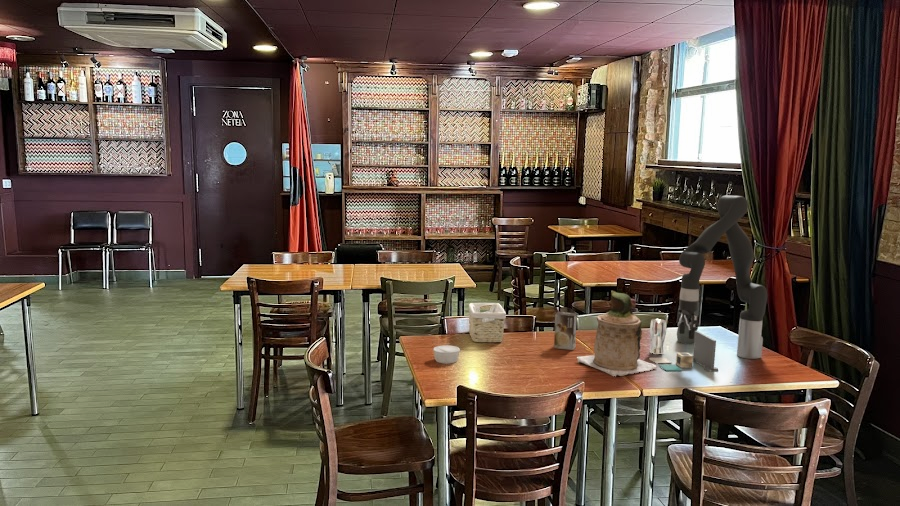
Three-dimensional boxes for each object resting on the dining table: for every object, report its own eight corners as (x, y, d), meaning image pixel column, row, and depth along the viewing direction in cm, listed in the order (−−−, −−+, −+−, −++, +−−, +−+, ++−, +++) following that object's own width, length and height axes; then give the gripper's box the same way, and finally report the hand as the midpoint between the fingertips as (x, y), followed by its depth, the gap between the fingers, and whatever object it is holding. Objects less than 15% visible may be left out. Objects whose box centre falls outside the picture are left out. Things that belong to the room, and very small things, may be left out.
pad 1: (664, 359, 296) (664, 357, 296) (671, 363, 289) (671, 362, 289) (649, 359, 295) (649, 357, 295) (655, 364, 288) (656, 362, 288)
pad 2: (674, 365, 286) (674, 364, 286) (682, 371, 279) (682, 369, 279) (658, 366, 285) (658, 364, 285) (665, 371, 278) (666, 369, 278)
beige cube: (686, 363, 290) (687, 352, 289) (692, 367, 285) (693, 355, 284) (675, 364, 289) (676, 352, 288) (680, 367, 284) (681, 355, 284)
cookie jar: (616, 378, 268) (621, 299, 263) (574, 362, 288) (577, 288, 284) (658, 369, 281) (664, 294, 276) (615, 354, 301) (619, 284, 297)
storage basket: (467, 330, 337) (468, 301, 335) (499, 330, 338) (500, 302, 336) (471, 343, 314) (472, 312, 312) (505, 343, 315) (506, 313, 313)
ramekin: (429, 362, 283) (429, 350, 282) (438, 355, 293) (439, 343, 292) (454, 366, 279) (454, 353, 278) (463, 358, 289) (463, 346, 288)
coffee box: (575, 347, 312) (577, 313, 309) (573, 350, 306) (574, 316, 303) (556, 344, 315) (558, 311, 313) (553, 348, 309) (554, 313, 307)
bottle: (698, 341, 327) (703, 280, 323) (694, 345, 319) (698, 283, 315) (678, 338, 332) (683, 278, 328) (674, 342, 324) (678, 281, 320)
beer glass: (665, 355, 301) (667, 322, 299) (649, 354, 302) (651, 321, 300) (663, 351, 308) (665, 319, 306) (647, 350, 309) (650, 318, 307)
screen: (699, 359, 296) (701, 330, 294) (717, 370, 280) (720, 340, 279) (688, 359, 296) (690, 330, 294) (706, 371, 280) (709, 340, 278)
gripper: (705, 302, 276) (702, 340, 279) (689, 295, 290) (686, 331, 293) (688, 302, 276) (685, 340, 278) (673, 295, 290) (670, 331, 292)
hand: (686, 336), depth 285 cm, fingers open, 8 cm apart
